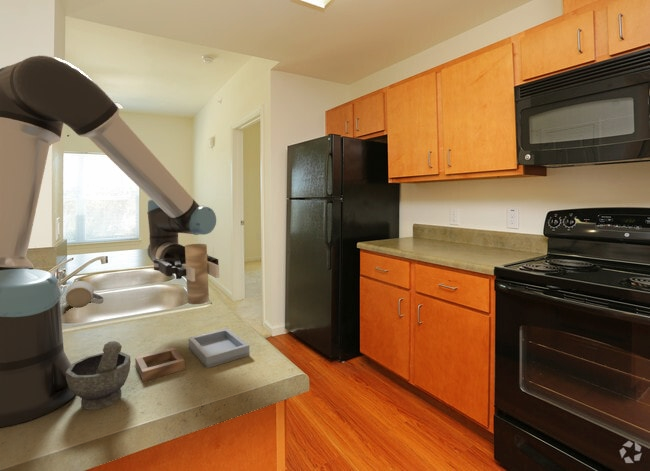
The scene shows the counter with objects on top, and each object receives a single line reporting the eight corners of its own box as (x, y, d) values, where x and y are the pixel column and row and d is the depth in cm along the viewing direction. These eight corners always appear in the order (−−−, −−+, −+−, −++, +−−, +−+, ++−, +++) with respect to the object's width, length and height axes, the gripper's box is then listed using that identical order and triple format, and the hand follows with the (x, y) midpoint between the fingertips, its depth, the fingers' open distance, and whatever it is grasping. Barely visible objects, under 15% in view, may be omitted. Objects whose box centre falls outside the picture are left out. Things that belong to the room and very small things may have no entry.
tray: (207, 368, 75) (206, 357, 75) (188, 347, 85) (188, 337, 85) (249, 355, 81) (249, 345, 81) (227, 337, 92) (227, 328, 91)
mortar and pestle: (60, 403, 62) (54, 339, 61) (114, 380, 70) (110, 323, 69) (90, 425, 56) (85, 355, 55) (146, 397, 64) (143, 335, 63)
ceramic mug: (65, 310, 112) (64, 287, 112) (67, 303, 119) (66, 281, 118) (104, 305, 118) (103, 283, 117) (104, 299, 125) (103, 278, 124)
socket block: (143, 381, 70) (142, 371, 70) (135, 365, 76) (135, 357, 76) (184, 369, 75) (184, 360, 74) (174, 355, 81) (174, 347, 81)
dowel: (191, 305, 77) (188, 247, 75) (185, 300, 80) (182, 245, 79) (211, 301, 80) (209, 245, 78) (204, 296, 83) (202, 243, 82)
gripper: (207, 267, 99) (243, 283, 81) (138, 276, 88) (162, 297, 70) (206, 241, 98) (242, 251, 80) (136, 247, 87) (160, 261, 69)
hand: (205, 273), depth 75 cm, fingers closed on dowel, 4 cm apart
